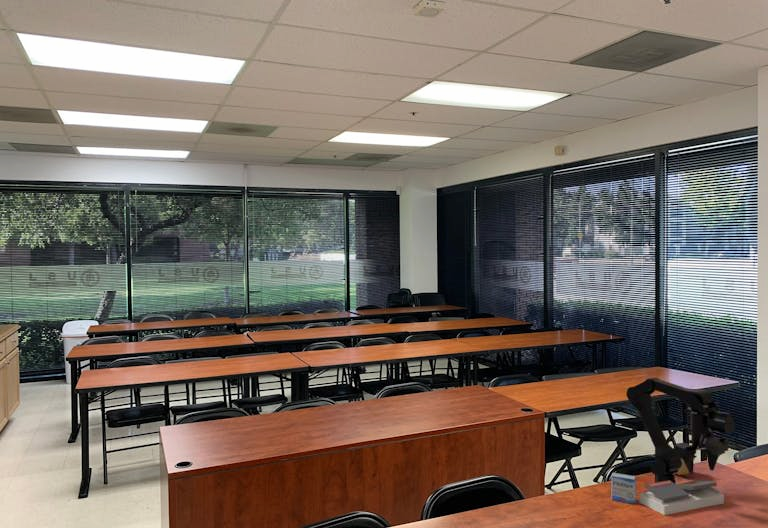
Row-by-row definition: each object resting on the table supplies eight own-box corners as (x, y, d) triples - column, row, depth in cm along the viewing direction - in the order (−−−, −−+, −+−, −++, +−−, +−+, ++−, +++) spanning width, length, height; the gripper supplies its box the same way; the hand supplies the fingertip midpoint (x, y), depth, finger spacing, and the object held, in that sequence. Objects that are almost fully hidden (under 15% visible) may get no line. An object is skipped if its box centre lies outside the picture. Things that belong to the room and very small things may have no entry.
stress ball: (695, 477, 221) (683, 455, 228) (699, 464, 214) (687, 441, 222) (670, 481, 221) (659, 458, 229) (673, 468, 215) (662, 445, 223)
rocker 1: (645, 488, 194) (646, 484, 194) (669, 484, 198) (670, 479, 198) (663, 502, 187) (664, 498, 187) (687, 498, 191) (688, 493, 190)
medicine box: (611, 500, 197) (610, 475, 197) (612, 495, 201) (612, 471, 201) (635, 504, 193) (635, 479, 194) (636, 499, 197) (636, 475, 198)
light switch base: (639, 502, 195) (639, 490, 195) (696, 491, 204) (696, 480, 204) (664, 515, 185) (664, 503, 185) (724, 503, 194) (723, 491, 194)
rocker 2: (675, 489, 199) (674, 484, 199) (698, 485, 202) (697, 480, 203) (693, 491, 191) (692, 486, 192) (717, 487, 195) (715, 481, 195)
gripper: (699, 435, 184) (700, 483, 183) (741, 430, 189) (742, 476, 189) (672, 427, 194) (673, 471, 194) (713, 422, 200) (714, 465, 199)
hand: (701, 471), depth 194 cm, fingers open, 9 cm apart
